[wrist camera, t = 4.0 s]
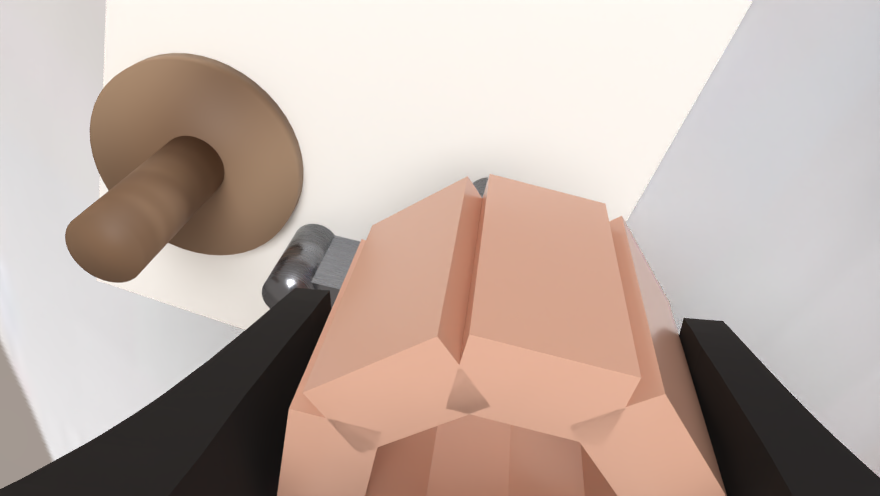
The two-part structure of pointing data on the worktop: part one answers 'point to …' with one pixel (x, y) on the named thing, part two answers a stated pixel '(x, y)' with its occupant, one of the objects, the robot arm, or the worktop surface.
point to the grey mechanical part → (316, 261)
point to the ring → (499, 360)
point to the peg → (184, 166)
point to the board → (431, 105)
